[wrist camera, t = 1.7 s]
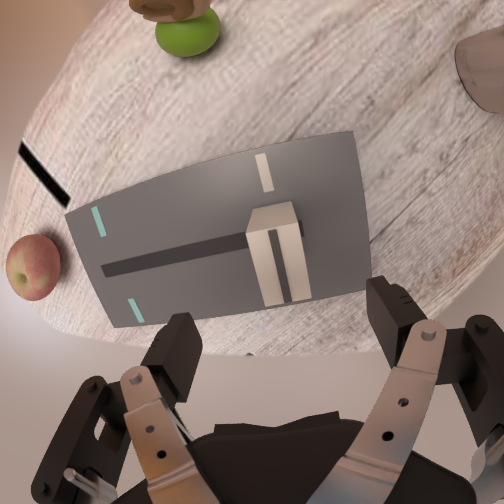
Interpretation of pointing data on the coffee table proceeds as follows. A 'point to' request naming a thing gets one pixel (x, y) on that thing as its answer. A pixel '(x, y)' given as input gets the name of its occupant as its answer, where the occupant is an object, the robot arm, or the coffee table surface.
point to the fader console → (224, 232)
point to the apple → (33, 267)
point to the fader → (278, 254)
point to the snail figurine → (181, 24)
